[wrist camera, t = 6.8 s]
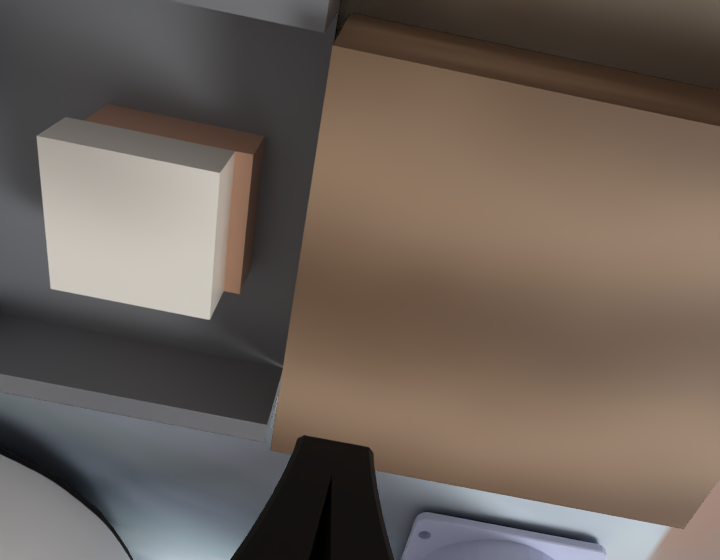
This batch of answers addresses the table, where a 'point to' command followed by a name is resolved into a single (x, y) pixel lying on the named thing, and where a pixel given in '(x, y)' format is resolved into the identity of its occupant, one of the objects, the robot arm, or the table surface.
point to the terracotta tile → (243, 175)
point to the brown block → (511, 275)
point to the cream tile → (135, 216)
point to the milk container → (50, 518)
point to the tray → (179, 100)
